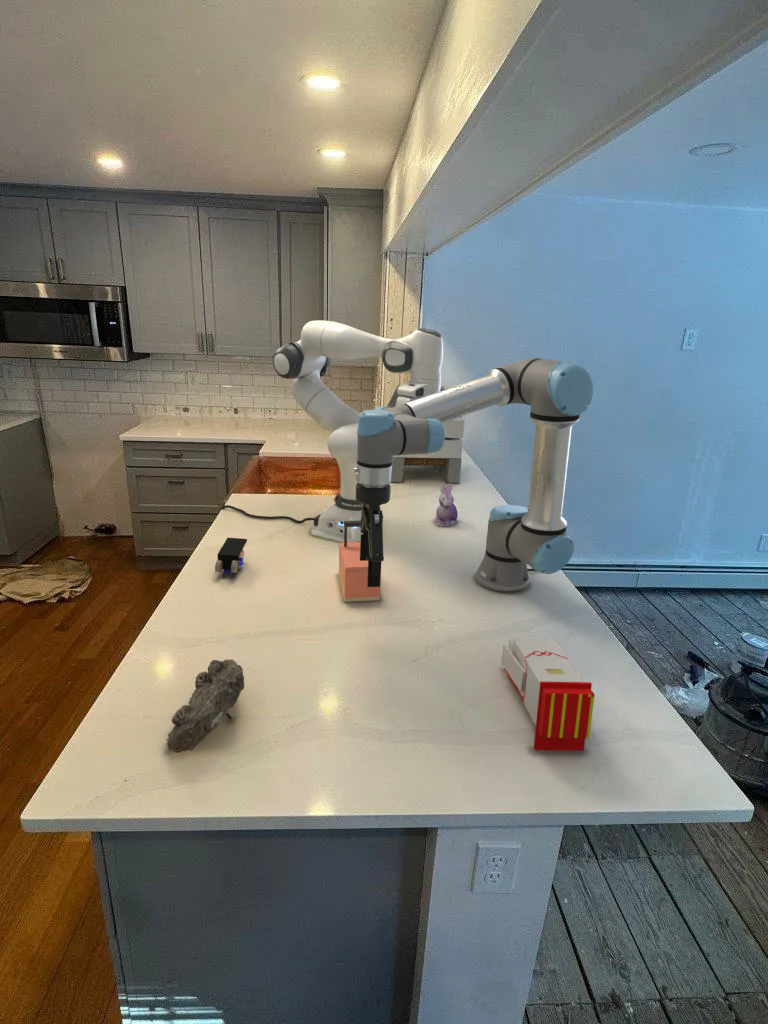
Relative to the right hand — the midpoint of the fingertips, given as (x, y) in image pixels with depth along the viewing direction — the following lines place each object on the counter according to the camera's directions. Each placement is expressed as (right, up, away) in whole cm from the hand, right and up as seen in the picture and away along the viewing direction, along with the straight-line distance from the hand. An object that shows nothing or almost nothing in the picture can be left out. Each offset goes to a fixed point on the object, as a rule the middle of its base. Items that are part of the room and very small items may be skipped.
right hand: (369, 572), depth 129 cm
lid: (-4, +1, +29) cm, 29 cm away
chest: (-4, -7, +32) cm, 33 cm away
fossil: (-29, -25, -21) cm, 44 cm away
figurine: (+27, +10, +83) cm, 88 cm away
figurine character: (-42, -3, +38) cm, 57 cm away
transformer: (+21, +33, +146) cm, 151 cm away
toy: (+35, -25, -13) cm, 45 cm away
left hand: (+15, +37, +39) cm, 56 cm away
